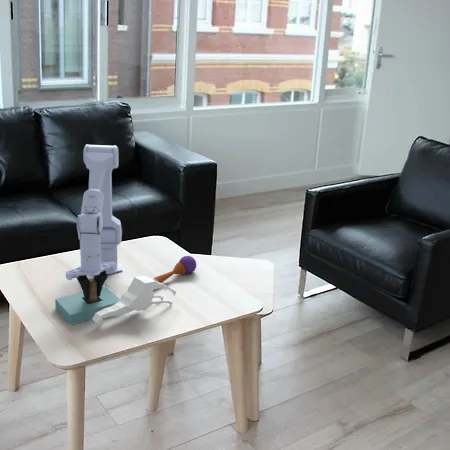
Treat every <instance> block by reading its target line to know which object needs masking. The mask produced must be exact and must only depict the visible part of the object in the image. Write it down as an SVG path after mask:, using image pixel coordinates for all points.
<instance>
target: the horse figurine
mask: <svg viewBox="0 0 450 450" xmlns="http://www.w3.org/2000/svg"><path fill="white" fill-rule="evenodd" d="M154 278H155V277H153V278H151V277H148V276H146V275H139V276H134V277H133V279H132V281H131V283H130V285H129V286H128V288H127V290H126V291H125V292H124V293H122V295H121V296H120V297H119V300H118V301H119V302H118V303H116V304H114V305H112V306H111V307H107V308H104V309H102V310H100V311H98V312H96V313H95V315H94V316H93V318H92V319H91V320H92V321H93V323H94V325H95V326H94V327H95V328H96V330H98V331H101V330H102V327H103V326H104V324H105V319H106V318H109V317H117V316H123V315H126V314H129V313H131V312H134V311H137V312H140V311H145V310H148V309H149V308H151V306H152V305H159V304H169V306H170V307H171V306H173V304H174V302H173V301H170V300H164V295H163V296H161V295H155V294H154V290H156V289H157V290H158V289H161V288H164V290H165V291H167V290H168V291H170V292H172V293H173V296H176V294H177V290H174V289H172V288H170V287H169V286H168V285H166V284H164V282H162V283H160V282H158V281H157V280H156V279H154ZM153 299H160V300H153Z"/></svg>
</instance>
